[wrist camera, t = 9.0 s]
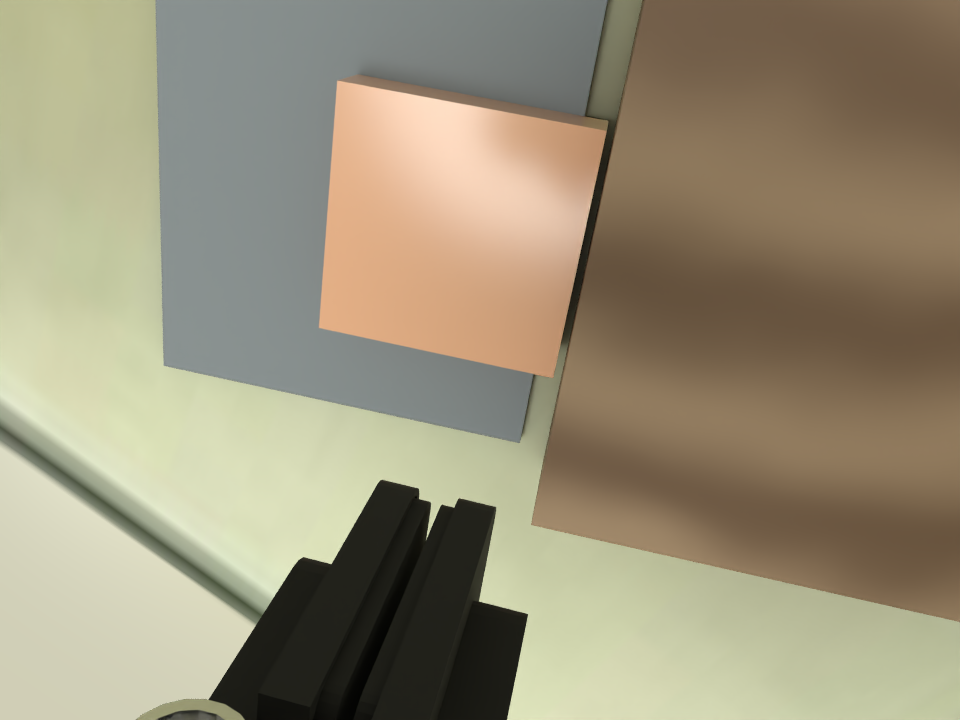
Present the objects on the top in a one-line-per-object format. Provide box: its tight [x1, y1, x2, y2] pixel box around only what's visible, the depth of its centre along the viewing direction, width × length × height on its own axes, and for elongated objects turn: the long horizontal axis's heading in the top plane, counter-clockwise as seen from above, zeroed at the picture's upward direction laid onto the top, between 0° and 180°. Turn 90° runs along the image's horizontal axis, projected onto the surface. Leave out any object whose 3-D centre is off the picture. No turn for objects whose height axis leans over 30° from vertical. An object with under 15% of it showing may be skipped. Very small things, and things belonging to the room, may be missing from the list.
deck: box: [531, 0, 960, 622], centre depth 25 cm, size 18×16×4 cm
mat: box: [156, 0, 608, 443], centre depth 28 cm, size 16×14×1 cm
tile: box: [319, 74, 608, 378], centre depth 26 cm, size 8×8×2 cm
